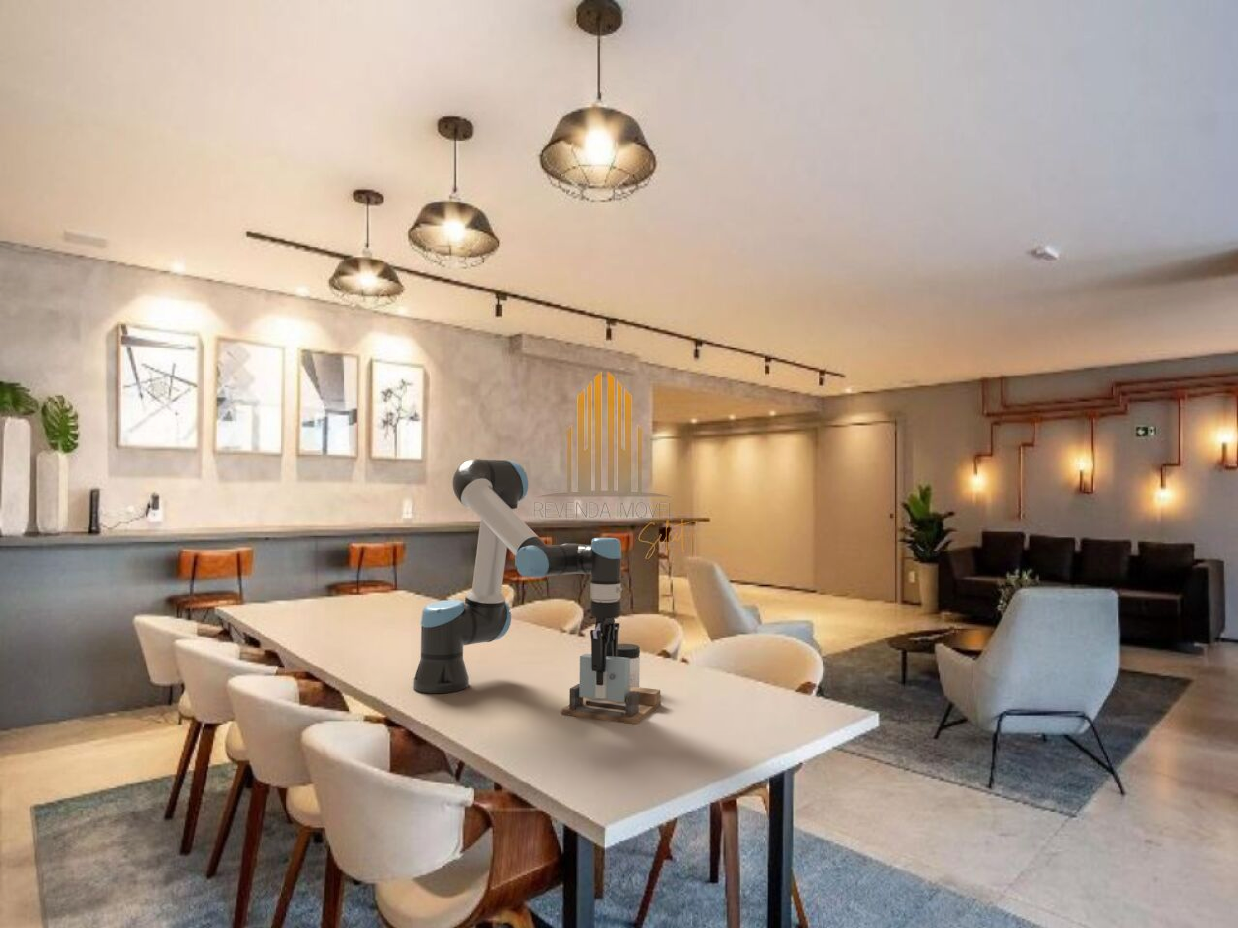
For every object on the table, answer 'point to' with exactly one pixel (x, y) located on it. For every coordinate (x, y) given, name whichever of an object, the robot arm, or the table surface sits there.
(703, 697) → the table surface
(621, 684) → the door
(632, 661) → the jar
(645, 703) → the brown piece
